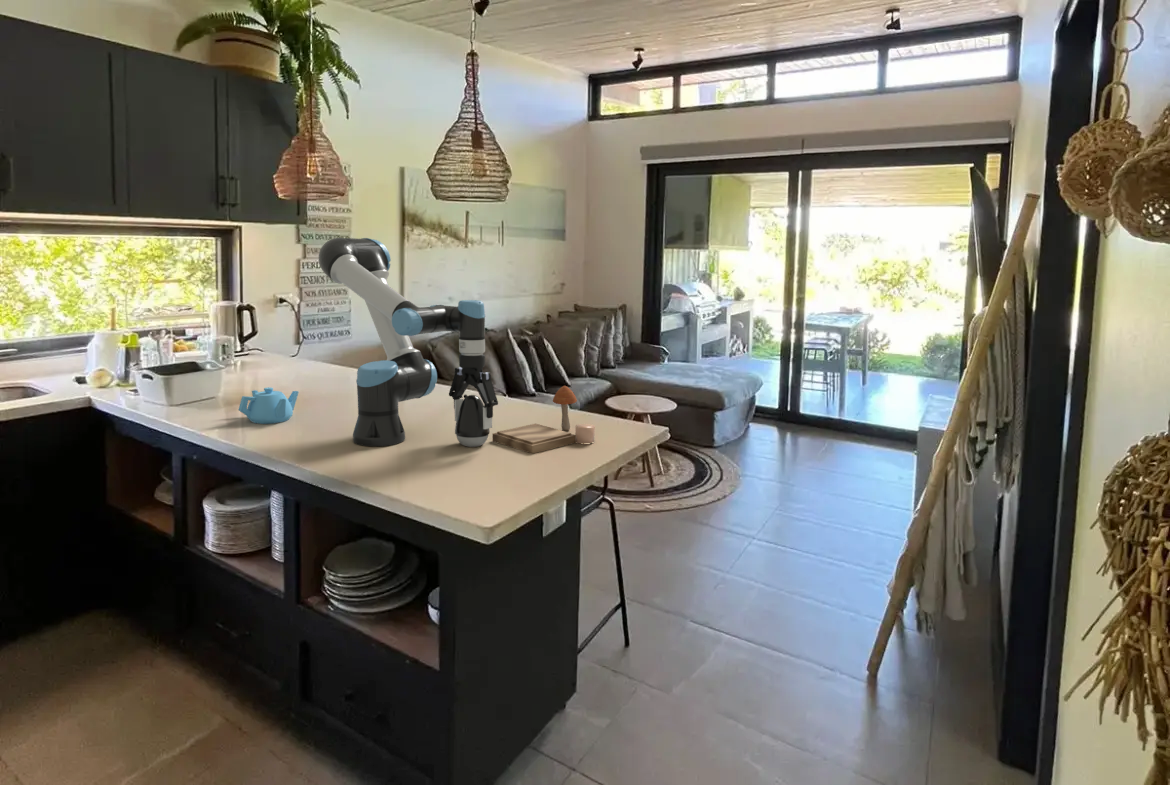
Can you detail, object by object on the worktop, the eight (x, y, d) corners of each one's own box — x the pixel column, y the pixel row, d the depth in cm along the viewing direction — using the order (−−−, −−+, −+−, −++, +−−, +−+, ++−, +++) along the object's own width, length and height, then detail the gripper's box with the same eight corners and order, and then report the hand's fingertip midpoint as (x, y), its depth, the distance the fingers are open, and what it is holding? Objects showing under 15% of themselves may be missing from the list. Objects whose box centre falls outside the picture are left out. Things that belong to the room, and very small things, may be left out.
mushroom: (546, 429, 235) (547, 384, 232) (565, 426, 240) (566, 382, 238) (562, 434, 229) (563, 388, 226) (581, 431, 235) (582, 385, 232)
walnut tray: (492, 441, 220) (492, 431, 219) (535, 431, 233) (535, 422, 232) (532, 453, 208) (532, 443, 207) (575, 442, 221) (576, 433, 220)
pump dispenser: (480, 438, 222) (480, 390, 219) (495, 446, 214) (495, 396, 211) (449, 442, 217) (449, 393, 214) (463, 451, 208) (463, 399, 205)
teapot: (254, 414, 244) (252, 383, 242) (300, 414, 246) (298, 383, 244) (237, 425, 230) (235, 392, 227) (286, 425, 231) (284, 392, 229)
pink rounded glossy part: (571, 441, 222) (571, 425, 221) (584, 438, 226) (584, 422, 225) (585, 445, 218) (585, 429, 217) (598, 442, 222) (598, 426, 221)
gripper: (436, 350, 215) (437, 419, 219) (489, 359, 199) (490, 434, 203) (456, 348, 221) (457, 415, 225) (510, 357, 204) (510, 429, 208)
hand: (473, 424), depth 214 cm, fingers open, 13 cm apart
